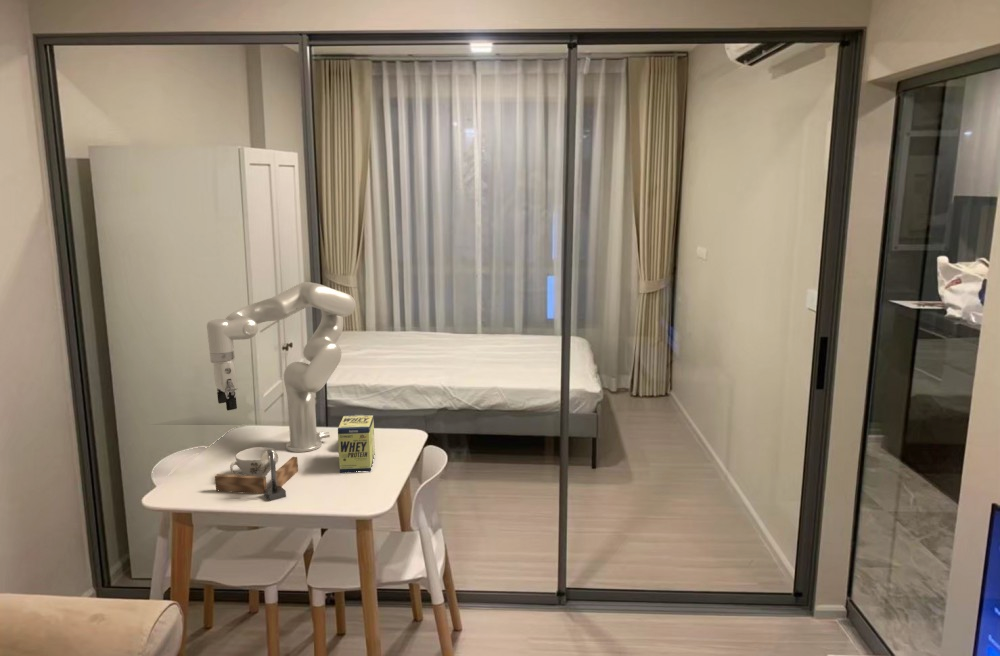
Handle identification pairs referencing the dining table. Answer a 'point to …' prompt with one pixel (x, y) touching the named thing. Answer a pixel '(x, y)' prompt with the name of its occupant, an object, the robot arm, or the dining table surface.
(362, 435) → the protein box
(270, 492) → the dial stand
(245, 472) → the teacup
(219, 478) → the v block
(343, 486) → the dining table surface
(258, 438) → the dining table surface
